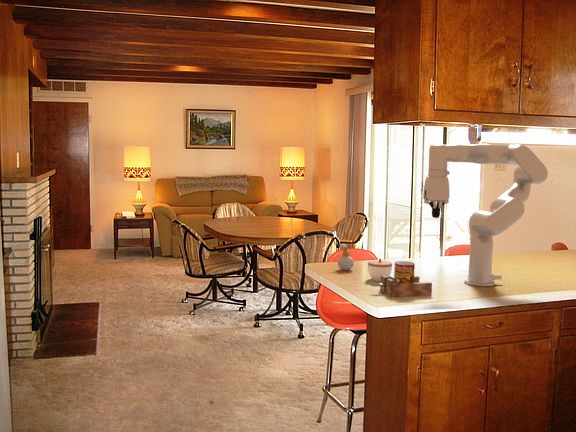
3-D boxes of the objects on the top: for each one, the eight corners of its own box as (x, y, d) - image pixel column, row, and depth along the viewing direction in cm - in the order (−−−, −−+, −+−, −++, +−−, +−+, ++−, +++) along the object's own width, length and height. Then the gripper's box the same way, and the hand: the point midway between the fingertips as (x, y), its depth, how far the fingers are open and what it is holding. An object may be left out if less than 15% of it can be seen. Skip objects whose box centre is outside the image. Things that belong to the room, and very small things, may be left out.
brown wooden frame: (417, 288, 255) (418, 273, 255) (431, 295, 242) (432, 280, 242) (379, 289, 252) (379, 274, 251) (391, 296, 239) (391, 281, 238)
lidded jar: (362, 278, 274) (363, 257, 273) (383, 276, 278) (384, 256, 277) (375, 283, 264) (376, 261, 263) (396, 281, 268) (397, 260, 267)
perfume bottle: (344, 272, 287) (345, 246, 285) (331, 268, 294) (332, 244, 293) (356, 270, 291) (357, 245, 290) (343, 267, 299) (343, 242, 298)
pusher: (390, 289, 251) (390, 274, 250) (398, 294, 242) (399, 279, 241) (367, 289, 249) (367, 275, 248) (375, 295, 240) (375, 280, 239)
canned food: (391, 293, 245) (392, 263, 244) (396, 289, 252) (397, 260, 251) (411, 295, 242) (412, 265, 241) (415, 291, 249) (416, 262, 248)
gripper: (449, 173, 262) (447, 216, 264) (417, 173, 259) (415, 216, 261) (458, 174, 255) (456, 218, 257) (424, 174, 252) (423, 218, 254)
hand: (435, 217), depth 259 cm, fingers closed
